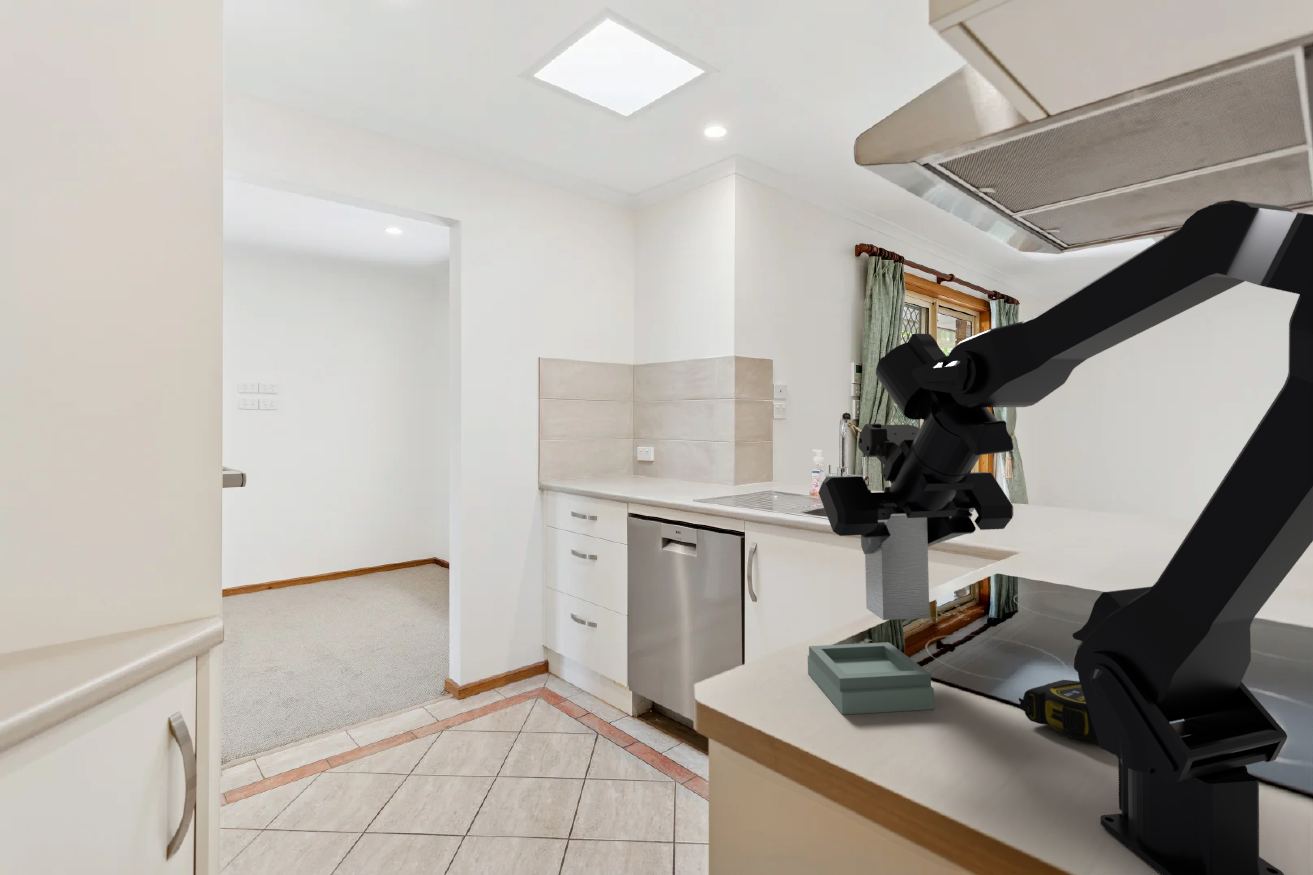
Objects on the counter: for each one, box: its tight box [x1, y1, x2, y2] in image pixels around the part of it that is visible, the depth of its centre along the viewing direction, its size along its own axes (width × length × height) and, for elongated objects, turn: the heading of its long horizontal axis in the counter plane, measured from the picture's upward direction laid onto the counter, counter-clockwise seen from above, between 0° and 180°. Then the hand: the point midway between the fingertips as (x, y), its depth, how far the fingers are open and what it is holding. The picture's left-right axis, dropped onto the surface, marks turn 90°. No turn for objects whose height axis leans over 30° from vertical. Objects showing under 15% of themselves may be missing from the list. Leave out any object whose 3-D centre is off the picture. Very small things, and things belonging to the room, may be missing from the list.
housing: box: [864, 515, 930, 621], centre depth 69 cm, size 4×5×14 cm
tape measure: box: [1018, 679, 1098, 742], centre depth 55 cm, size 7×7×4 cm
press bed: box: [807, 641, 935, 715], centre depth 65 cm, size 10×9×3 cm
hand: (887, 549), depth 70 cm, fingers closed on housing, 5 cm apart
